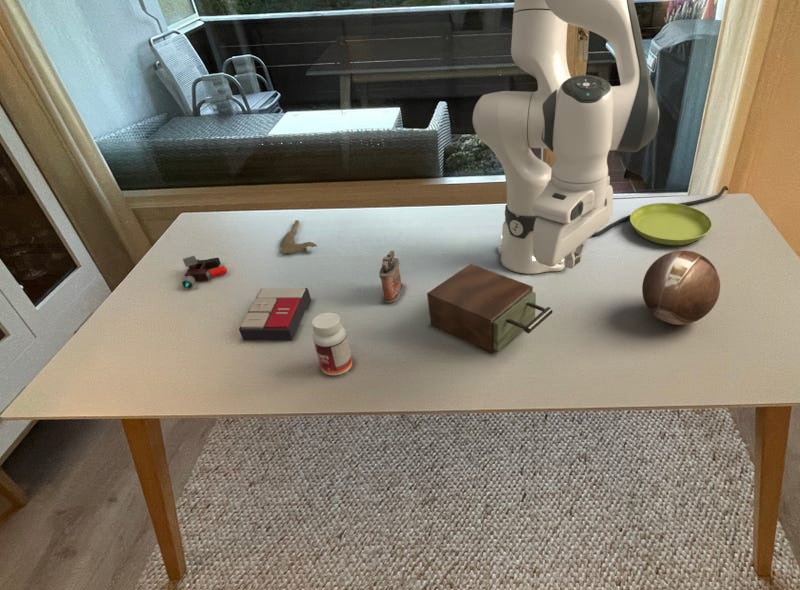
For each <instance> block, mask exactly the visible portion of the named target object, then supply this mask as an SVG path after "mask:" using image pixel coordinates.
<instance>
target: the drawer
mask: <svg viewBox="0 0 800 590" xmlns="http://www.w3.org/2000/svg"><path fill="white" fill-rule="evenodd" d="M536 301H537V293H536V292H534V291H531V292H530V293H528V294H527V295H526V296H525V297H522V298H521V299H520V300H519V301H517V302H516V303H515V305H514V306H512V307H511V308H510V309H509V310H507V311H506V312H505V313H504V314H502V315H501V316H500V317H499V318H497V319H496V320H495V321H494V322H493V348H494V350H496V351H497V352H500V350H502V349H503V348H504V347H505V346H506V345H507V344H509V342H511V341H513V339H514V338H515V337H517V336H518V335H519V334H520V333H521V332H522V331H524V333H526V334H530V333H531V332H533V331H534V330H535V329H536V328H537V327H538V326H539V325H540V324H542V323H543V322H544V321H545V320H546V319H547V318H549V316H551V315H552V314H553V309H552V307H550V306H547V307H543V306H541V305H538V304H536ZM536 310H538V311H541V312H540V313H539V314H538V315H536ZM496 351H495V352H496Z"/></svg>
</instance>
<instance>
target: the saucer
mask: <svg viewBox="0 0 800 590" xmlns="http://www.w3.org/2000/svg"><path fill="white" fill-rule="evenodd" d="M629 215H630V219H629V221H630V224H631V227H632V228H633V229H634V231H636V232H637V233H638V234H639V235H640V236H641V237H642V238H643V239H645V240H647V241H649V242H652V243H654V244H658V245H663V246H684V245H688V244H691V243H695V242H696V241H699V240H700V239H702V238H703V237H704V236H706V235H708V233H709V232H710V231H711V230H712V227H713V222H712V219H711V218H710V217H709V216H708V215H707V214H706V213H705V212H703V211H702V210H700V209H697V208H696V207H692V206H690V205H681V204H679V203H673V202H656V203H649V204H644V205H642V206H639V207H637V208H636V209H634V210H633V211H632V212H631V213H630V214H629Z"/></svg>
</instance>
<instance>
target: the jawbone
mask: <svg viewBox="0 0 800 590" xmlns="http://www.w3.org/2000/svg"><path fill="white" fill-rule="evenodd" d="M299 225H300V220H299V219H295V220H294V222H293V226H292V228H291V230H289V232H287V233H286V234H285V235H284V237H282V239H281V242H280V248H281V249H280V250H279V253H280V254H281V255H289V254H291V253H296V252H304V253H306V254H309V251H308V248H307V247H311V248H315V247H316V248H318V245H317V243H315V242H312V241H306V242H302V243H296V242H295V237H296V235H297V233H298V231H297V230H298V228H299Z"/></svg>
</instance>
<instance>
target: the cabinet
mask: <svg viewBox="0 0 800 590" xmlns="http://www.w3.org/2000/svg"><path fill="white" fill-rule="evenodd" d="M531 291H532V292H534V291H533V285H530V284H527V283H524V282H522V281H519V280H517V279H514V278H511V277H508V276H506V275H502V274H500V273H497V272H494V271H492V270H489V269H486V268H484V267H482V266H478V265H475V264H473V263H469V264H468V265H466V266H465V267H464V268H462V269H460V270H458V272H456V273H454V274H453V275H452V276H450V277H449V278H447V279H446V280H444V281H443V282H442V283H440V284H438V285H437V286H436V287H434V288H432V289H431V290H430V291H428V292H427V293H426V296H427V304H428V305H427V306H428V312H429V314H428V315H429V322H430V327H432V328H434V329H436V330H439V331H441V332H443V333H445V334H447V335H450V336H451V337H454V338H456V339H458V340H460V341H463V342H465V343H466V344H469V345H471V346H473V347H476V348H478V349H480V350H482V351H484V352H487V353H489V354H491V355H493V353H495V352H496V350H494V348H493V321H494V320H495V319H496V318H498V317H499V316H500V315H501V314H502V313H504V312H505V311H506V310H507V309H509V308H510V307H511V306H512V305H514V304H515V303H516V302H517V301H519V300H520V299H521V298H522V297H525V296H526V295H527V294H528V293H530V292H531Z"/></svg>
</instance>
